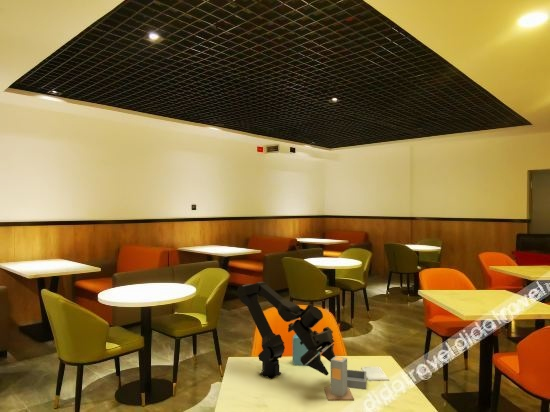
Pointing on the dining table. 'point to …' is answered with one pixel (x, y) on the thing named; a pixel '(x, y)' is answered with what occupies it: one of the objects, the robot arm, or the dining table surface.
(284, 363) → the dining table surface
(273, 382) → the dining table surface
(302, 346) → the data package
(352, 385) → the parts bin
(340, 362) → the labelled box
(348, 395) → the walnut pad
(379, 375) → the hard drive
